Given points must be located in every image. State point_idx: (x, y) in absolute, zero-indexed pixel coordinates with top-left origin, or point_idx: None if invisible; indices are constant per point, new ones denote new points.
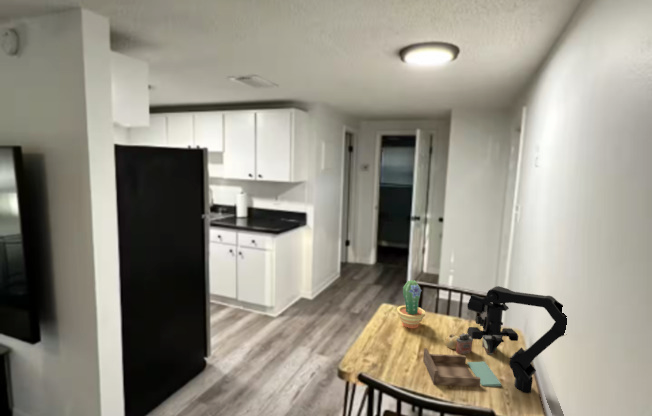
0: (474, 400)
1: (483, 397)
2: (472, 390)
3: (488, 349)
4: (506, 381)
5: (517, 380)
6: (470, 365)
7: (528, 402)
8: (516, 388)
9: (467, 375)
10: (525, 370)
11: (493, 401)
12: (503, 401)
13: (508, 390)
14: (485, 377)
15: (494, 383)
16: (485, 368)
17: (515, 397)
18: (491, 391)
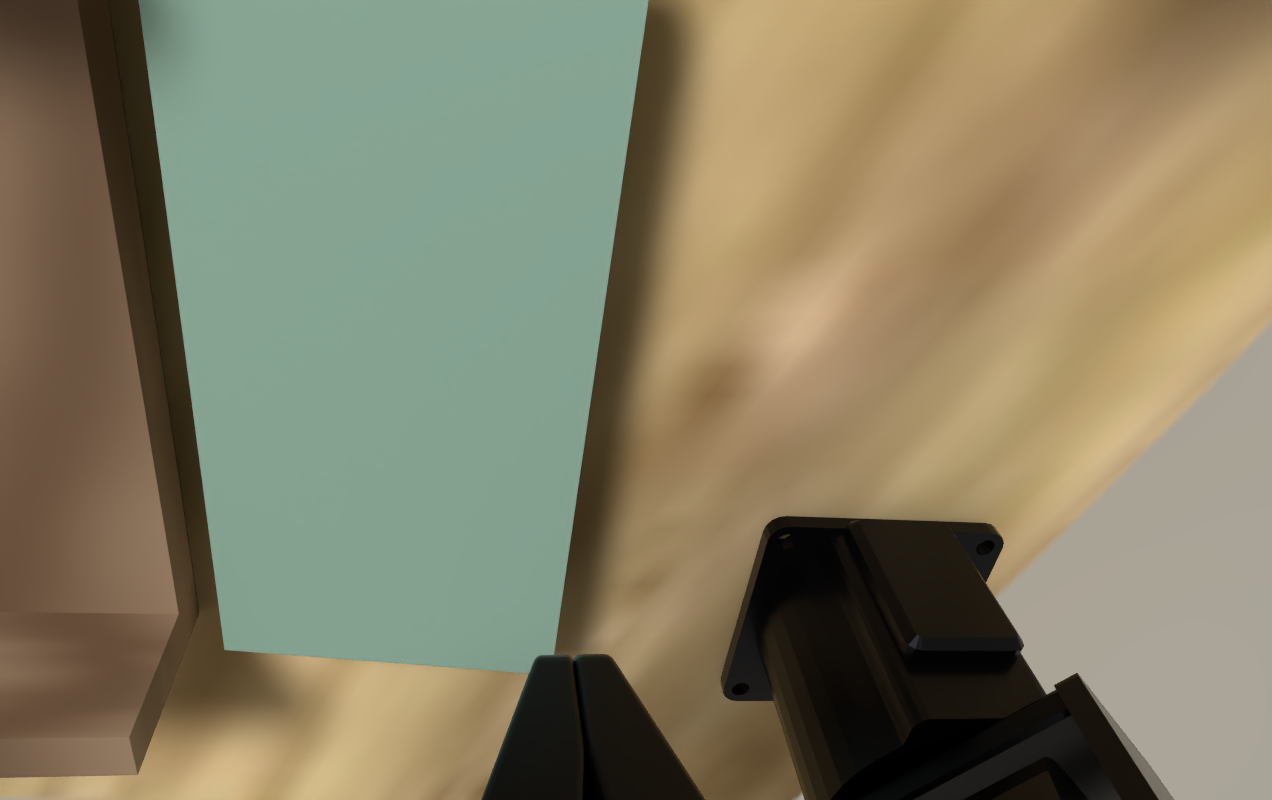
0: (50, 787)
1: (202, 738)
2: None
3: (502, 749)
4: (775, 428)
5: (796, 768)
6: (172, 31)
7: (748, 765)
8: (761, 653)
9: (14, 381)
10: (1082, 763)
11: (315, 782)
12: (449, 774)
13: (652, 609)
14: (364, 509)
15: (446, 655)
16: (509, 243)
17: (652, 712)
18: None
